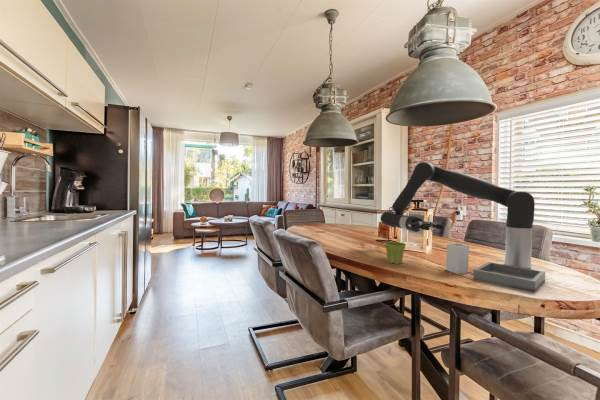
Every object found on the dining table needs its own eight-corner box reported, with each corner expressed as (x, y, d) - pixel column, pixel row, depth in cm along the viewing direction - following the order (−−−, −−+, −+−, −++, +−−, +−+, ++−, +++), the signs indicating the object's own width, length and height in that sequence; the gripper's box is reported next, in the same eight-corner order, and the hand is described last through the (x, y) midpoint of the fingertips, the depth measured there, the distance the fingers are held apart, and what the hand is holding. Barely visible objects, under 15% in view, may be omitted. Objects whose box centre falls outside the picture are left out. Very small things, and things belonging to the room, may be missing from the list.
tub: (456, 269, 120) (457, 243, 120) (468, 272, 115) (468, 245, 114) (446, 270, 118) (446, 243, 118) (457, 273, 113) (458, 246, 113)
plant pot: (391, 265, 124) (392, 246, 124) (380, 260, 133) (380, 242, 133) (410, 264, 127) (410, 245, 126) (397, 259, 136) (397, 241, 136)
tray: (488, 270, 118) (488, 262, 118) (544, 281, 105) (545, 271, 105) (473, 278, 107) (473, 269, 106) (534, 292, 93) (535, 281, 93)
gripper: (399, 215, 139) (423, 219, 124) (422, 215, 144) (448, 219, 129) (398, 231, 140) (423, 236, 124) (422, 230, 144) (448, 235, 129)
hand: (436, 227), depth 127 cm, fingers open, 8 cm apart
